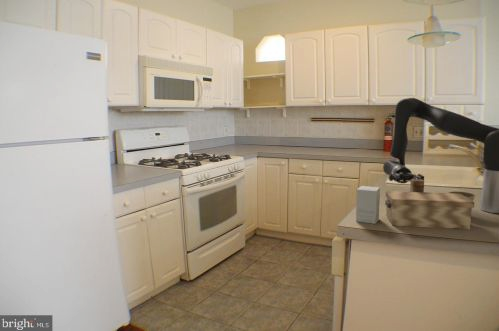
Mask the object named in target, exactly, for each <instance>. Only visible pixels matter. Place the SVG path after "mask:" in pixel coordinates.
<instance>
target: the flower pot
mask: <svg viewBox="0 0 499 331" xmlns="http://www.w3.org/2000/svg"><path fill="white" fill-rule="evenodd" d="M447 193H458V194H462V195H463V196H465V197H467V198H468V199H470V200H472V201H473V202H474V201H475V200H474V199H475V198H476V194H474V193H471V192H467V191H466V192H465V191H458V190H457V191H448V192H447Z"/></svg>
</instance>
